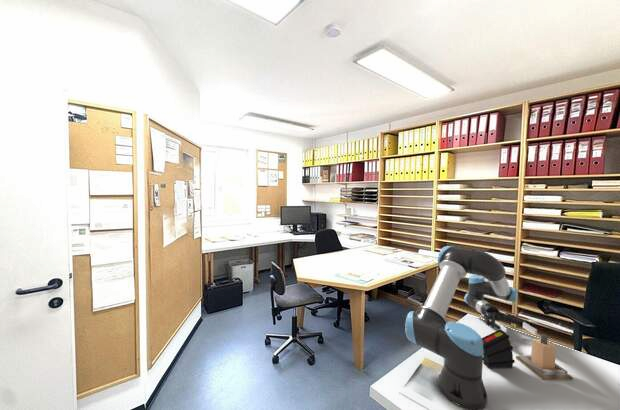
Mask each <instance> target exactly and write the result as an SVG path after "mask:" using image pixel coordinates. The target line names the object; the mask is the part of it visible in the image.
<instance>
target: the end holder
mask: <svg viewBox="0 0 620 410" xmlns="http://www.w3.org/2000/svg"><path fill="white" fill-rule="evenodd" d="M515 359H516V360H518V361H519V362H520V364H522V365H524V366H525V367H526V368H527V369H529V370H530V371H531V372H532V373H534V375H536V376H537V377H539V378H540V379H541V380H562V381H563V380H565V381H568V380H569V381H573V379H574V378H573V376H571V375H570V374H569V373H568V371H567V370H566V369H564V368H563V367H562V366H560V365H559V364H557V363H556V362H555V370H545V369H541V368H540V367H539V366H537V365H536V364H535V363H533V362H532V361H531V354H520V355H517V356H515Z"/></svg>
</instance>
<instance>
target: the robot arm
mask: <svg viewBox="0 0 620 410" xmlns="http://www.w3.org/2000/svg"><path fill="white" fill-rule="evenodd" d="M437 264H438V266H439V269H440V270H439V273H438V275H437V277H436V279H435V281H434V283H433V285H432V287H431V290H430V291H429V293H428V296H427V298H426V300H425V301H424V304H423V305H421V306H418V307H417V309H416V310H415V311H414V310H413V311H412V310H411V311H409V312H408V313H407V315H406V319H405V326H404V330H405V336H406V338H407V339H408V340H409V342H411V343H413V344H416V346H419V347H421V348H422V349H426V350H427V351H430V352H431V353H434V354H436V355H437V356H439V357H441V356H442V358H443V359H444V362H443V363H444V364H443V366H442V368H441V370H440V373H439V374H438V378H437V380H438V381H437V386H438V389H439V390H440V392H441V394H443V396H444V395H445V396H446V397H445V396H444V397H445V398H446V399H447V400H449V401H450V400H451V401H450V402H452V401H453V402H455V403H457V404H459V405H460V406H459V405H458V406H459V407H461V408H464V409H466V410H483V409H485V408H487V405H488V394H487V390H486V387H485V384H484V381H483V365H484V364H483V353H484V351H483V341H482V338H483V337H481V335H480V334H479V333H478V332H477V331H476V330H475V329H473V328H472V327H470V326H468V325H466V324H463V323H461V322H455V321H448V322H447V320H446V318H445V317H446V314H447V312H448V309H449V307H450V305H451V302H452V300H453V298H454V295H455V293H456V290H457V288H458V285H459V284H460V281H461V279H464V278H465V277H466V276H467V274H470V276H469V277H468V278H469V279H468V292H467V293H465V295H464V296H463V297H464V298H463V300H464V302H465V303H466V304H467V305H468V306H469V307H471V308H472V309H474V310H475V311H476V312H478V313H480V314H481V317H482V318H483V320H484V322H485V324H486V326H490V327H491V329H494V328H495V329H497V331H498V330H500V329H501V330H502V331H504V332H505V333H506V334H507V335H508V328H506V327H505V326H504V325H502V324H501V323H499V322H500V321H502V322H504V323H510V324H514V325H515V326H520V327H522V329H524V330H526V331H527V332H529V333H531V334H532V335H534V336H537V335H538V329H537V328H535V327H533V326H531V325H530V324H529V320H526V319H524V318H520V317H518V316H515V315H513V314H511V313H509V312H505V313H503V312H501V311H500V310H499V308H498V307H496V306H494V305H493V304H491V303H490V302H488V301H487V300H485V299H484V297H485V296H489V297H493V298H496V299H500V300H503V301H506V302H512V303H516V302H517V300H518V289H517V288H516V287H511V286H510V285H509V282H508V280H507V277H506V274H507V273H506V269H505V267H504V265H503V264H502V263H501V261H499V260H498V259H497V258H496V257H495V256H493V255H492V254H490V253H488V252H486V251H482V250H478V249H471V248H465V247H460V246H459V247H458V246H455V245H446V246H443V247H442V248H441V249H440V251H439V253H438V257H437ZM485 279H486V280H487V281H486V280H485ZM498 321H499V322H498ZM453 402H452V403H453ZM455 403H454V404H455ZM457 404H456V405H457Z"/></svg>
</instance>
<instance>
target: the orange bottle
mask: <svg viewBox="0 0 620 410" xmlns="http://www.w3.org/2000/svg"><path fill="white" fill-rule="evenodd" d="M531 340H532V341H531V354H530V355H531V361H532V362H533V363H535V364H536V365H537V366H539V367H540V368H541V369H545V370H555V363H556V356H557V355H556V351H557V346H556V345H554V344H552V343H551V342H549V340H548V336H547V335H545V334H540V338H539V339H538V338H537V339H536V338H532V339H531Z"/></svg>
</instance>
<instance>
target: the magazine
mask: <svg viewBox="0 0 620 410" xmlns="http://www.w3.org/2000/svg"><path fill="white" fill-rule="evenodd" d="M481 338H482V341H483V351H484V353H483V364H482V365H484V366H486V368H487V369H513V368H514V366H513V364H515V362H516V361H515V359H514V357H513V356H514V355H513V350H514V346H512V345H511V341H510V338H511V337H510V335H508V333H507V334H506V333H505V332H504V331H502V330H501V329H500V330H498V329H497V330H496V331H494V332H492V333H490V334H487V335H486V336H483V337H481Z"/></svg>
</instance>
